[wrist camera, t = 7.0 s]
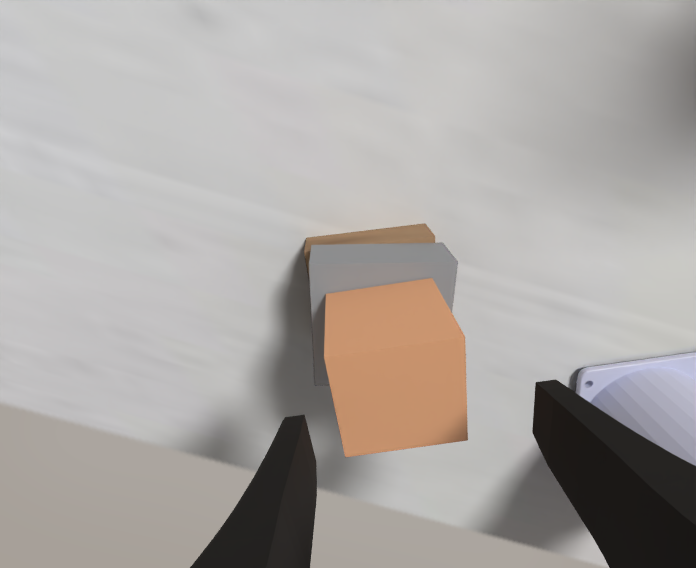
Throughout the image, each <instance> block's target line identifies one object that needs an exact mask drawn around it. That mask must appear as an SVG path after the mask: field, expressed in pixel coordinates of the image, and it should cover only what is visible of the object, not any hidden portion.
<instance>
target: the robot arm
mask: <svg viewBox="0 0 696 568" xmlns="http://www.w3.org/2000/svg"><path fill="white" fill-rule="evenodd" d="M587 381H588V382H587ZM586 382H587V383H586ZM533 434H534V437H535V439H536V441H537V443H538V445H539V448H540V450H541V452H542V454H543V456H544V458H545V460H546V462H547V464H548V466H549V468H550V469H551V471H552V473H553V474H554V476H555V477H556V479H557V481H558V482H559V484H560V486H561V487H562V489H563V490H564V492H565V494H566V495H567V497H568V498H569V500H570V502H571V503H572V505H573V506H574V508H575V510H576V511H577V513H578V514H579V516H580V517H581V519H582V521H583V522H584V524H585V525H586V527H587V529H588V530H589V532H590V533H591V535H592V537H593V538H594V540H595V542H596V543H597V545H598V547H599V549H600V550H601V552H602V554H603V556H604V558H605V560H606V562H607V563H608V565H609V567H610V568H696V352H692V353H685V354H678V355H671V356H664V357H657V358H650V359H643V360H635V361H628V362H621V363H614V364H607V365H600V366H593V367H587V368H583V369H582V370H581V371H580V372H579V373H578V378H577V387H576V393H575V392H574V391H572V390H571V389H569V388H568V387H566V386H565V385H563V384H562V383H560V382H559V381H557V380H549V381H542V382H536V387H535V402H534V417H533ZM316 496H317V477H316V459H315V455H314V451H313V447H312V443H311V439H310V435H309V431H308V427H307V423H306V419H305V415H299V416H292V417H285V418H284V420H283V421H282V423H281V425H280V428H279V430H278V432H277V434H276V436H275V438H274V440H273V442H272V444H271V446H270V448H269V450H268V452H267V454H266V456H265V458H264V460H263V461H262V463H261V465H260V467H259V469H258V471H257V472H256V474H255V476H254V478H253V479H252V481H251V483H250V484H249V486H248V488H247V489H246V491H245V492H244V494H243V496H242V497H241V499H240V501H239V502H238V504H237V505H236V507H235V508H234V510H233V512H232V513H231V514H230V516H229V517H228V519H227V520H226V522H225V523H224V525H223V526H222V527H221V529H220V530H219V531H218V533H217V534H216V535H215V537H214V538H213V540H212V541H211V542H210V543H209V545H208V546H207V547H206V548H205V550H204V551H203V552H202V554H201V555H200V556H199V557H198V559H197V560H196V561H195V562H194V564H193V565H192V566H191V567H190V568H310V561H311V550H312V540H313V529H314V519H315V508H316Z"/></svg>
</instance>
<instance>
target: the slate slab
mask: <svg viewBox="0 0 696 568" xmlns="http://www.w3.org/2000/svg"><path fill="white" fill-rule="evenodd" d="M457 265H458V261H457V260H456V259H455V257H454V256H453V255H452V254H451V252H450V251H449V250H448V249H447V247H446V246H445V245H444V244H443V243H392V244H335V245H311V252H310V260H309V277H310V297H311V318H312V338H313V359H314V379H315V386H317V385H330V383H329V378H328V374H327V369H326V364H325V360H324V341H325V304H326V294H328V293H335V292H342V291H348V290H355V289H362V288H368V287H375V286H381V285H388V284H395V283H401V282H408V281H415V280H421V279H428V278H433V280H434V282H435V284H436V286H437V287H438V289H439V291H440V293H441V295H442V296H443V298H444V300H445V302H446V304H447V305H448V307H449V309H450V311H451V313H452V307H453V299H454V290H455V282H456V274H457Z"/></svg>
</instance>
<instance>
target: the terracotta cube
mask: <svg viewBox="0 0 696 568" xmlns="http://www.w3.org/2000/svg"><path fill="white" fill-rule="evenodd" d="M324 360H325V364H326V369H327V374H328V378H329V383H330V388H331V392H332V397H333V402H334V407H335V411H336V416H337V421H338V425H339V430H340V435H341V439H342V444H343V449H344V453H345V457H351V456H358V455H365V454H372V453H379V452H387V451H394V450H401V449H408V448H415V447H423V446H430V445H437V444H444V443H452V442H459V441H466V440H468V433H467V394H466V354H465V336H464V334H463V332H462V330H461V329H460V327H459V325H458V323H457V321H456V320H455V318H454V316H453V314H452V313H451V311H450V309H449V307H448V305H447V304H446V302H445V300H444V298H443V296H442V295H441V293H440V291H439V289H438V287H437V286H436V284H435V282H434V280H433V278H428V279H421V280H415V281H408V282H401V283H395V284H388V285H381V286H375V287H368V288H362V289H355V290H348V291H342V292H335V293H328V294H326V304H325V341H324Z"/></svg>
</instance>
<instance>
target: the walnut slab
mask: <svg viewBox="0 0 696 568" xmlns="http://www.w3.org/2000/svg"><path fill="white" fill-rule="evenodd" d="M392 243H435V235H434V234H433V233H432V232H431V230H430V229H429V228H428V227H427V225H426V224H417V225H409V226H400V227H392V228H384V229H376V230H367V231H359V232H351V233H343V234H334V235H326V236H318V237H310V238H306V244H305V250H304V254H305V260H306V266H307V272H308V278H309V283H310V277H309V260H310V252H311V245H335V244H392Z"/></svg>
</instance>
